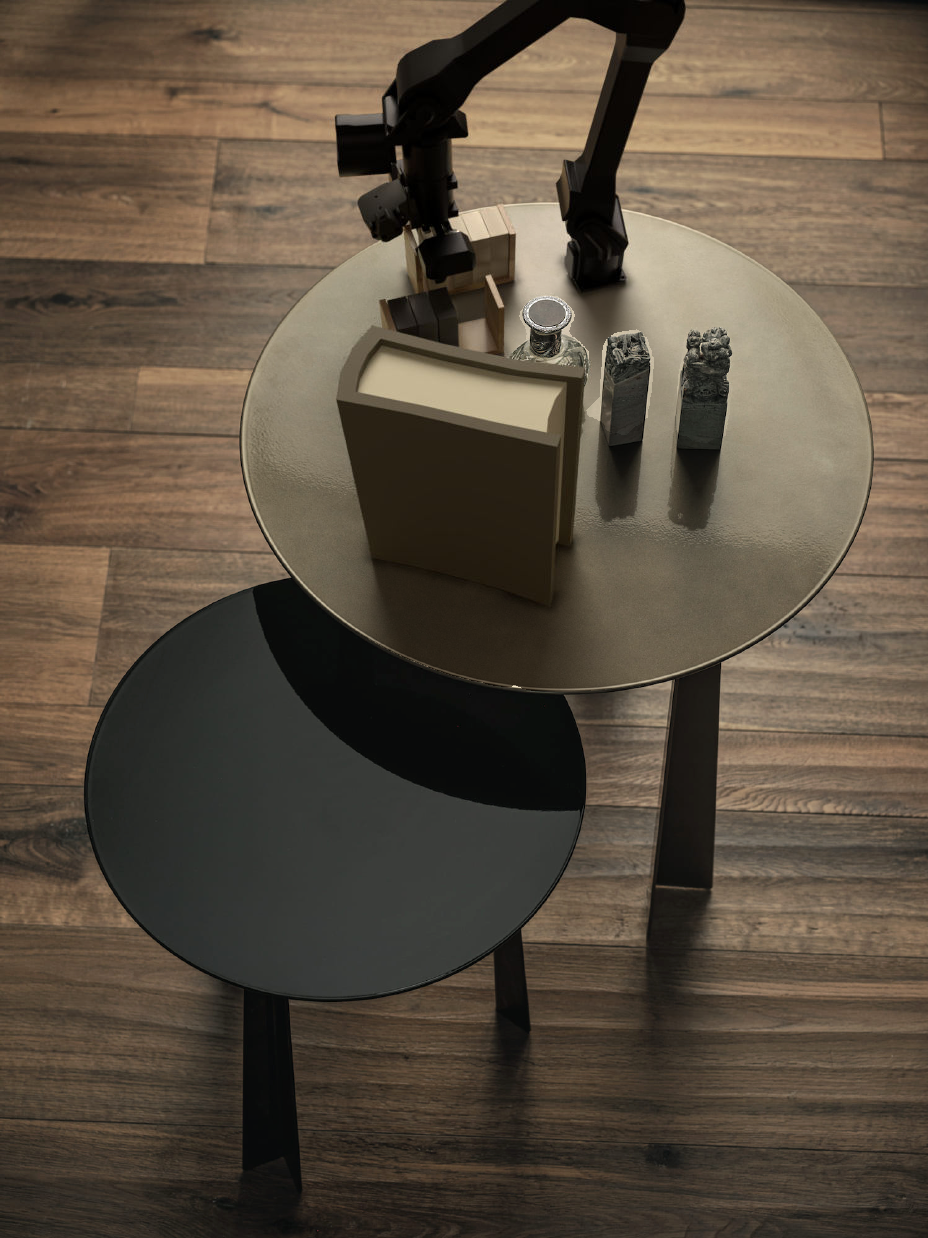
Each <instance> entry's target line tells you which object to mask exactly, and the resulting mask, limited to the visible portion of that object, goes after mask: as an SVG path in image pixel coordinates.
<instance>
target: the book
mask: <svg viewBox="0 0 928 1238" xmlns="http://www.w3.org/2000/svg"><path fill="white" fill-rule="evenodd" d="M586 369H587V367H586V366H578V365H577V366H576V365H568V364H558V363H550V362H540V361H530V360H524V359H523V360H520V359H516V358H515V359H514V358H510V357H505V356H500V355H498V354H495V355H492V354H488V353H483V352H479V351H474V350H469V349H465V348H460V347H456V346H451V345H447V344H442V343H438V342H434V341H431V340H427V339H423V338H419V337H415V336H411V335H407V334H404V333H400V332H396V331H392V330H388V329H384V328H382V326H381V327H380V326H377V325H371V326H370V327H369V328H368V329H367V331H365V332H364V334H363V335H362V336H361V338H360V339H359V340H358V341H357V342H356V343H355V344H354V345H353V346H352V348H351V349H350V352H349V354H348V356H347V358H346V360H345V361H344V364H343V367H342V368H341V370H340V373H339V379H338V385H337V391H336V396H335V397H336V398H335V402H336V405H337V409H338V414H339V419H340V423H341V427H342V432H343V436H344V441H345V445H346V450H347V454H348V459H349V463H350V469H351V472H352V476H353V480H354V485H355V490H356V493H357V499H358V503H359V508H360V512H361V517H362V521H363V526H364V530H365V534H366V538H367V543H368V548H369V552H370V556H371V558H373V559H377V560H383V561H387V562H391V563H396V564H401V565H405V566H410V567H415V568H419V569H425V570H429V571H433V572H437V573H441V574H444V575H449V576H452V577H456V578H459V579H463V580H466V581H472V582H474V583H475V582H476V583H480V584H483V585H486V586H491V587H494V588H497V589H499V590H503V591H506V592H508V593H511V594H514V595H516V596H519V597H521V598H525V599H527V600H530V601H533V602H536V603H538V604H540V605H544V606H546V607H551V605H552V601H553V598H554V588H555V587H554V585H555V564H556V546H557V544H558V545H561V546H565V547H568V548H571V545H572V542H573V539H574V528H575V515H576V502H577V489H578V475H579V464H580V463H579V461H580V449H581V448H580V447H581V437H582V436H581V434H582V421H583V410H584V409H583V408H584V407H583V406H584V397H585V384H586V383H585V380H586Z"/></svg>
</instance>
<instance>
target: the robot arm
mask: <svg viewBox="0 0 928 1238" xmlns="http://www.w3.org/2000/svg"><path fill="white" fill-rule="evenodd" d="M686 11H687V7H686V1H685V0H504V1H503V2H502V3H501V4H500V5H498V6H497V7H495V8H493V9H492V10H491V11H490V12H488V13H487V14H486V15H484V16H483V17H482V18H480V19H478V20H477V21H476V22H474V23H473V24H472V25H470V26H469V27H467V28H466V29H465V30H463V31H462V32H460V33H458V34H456V35H454V36H452V37H446V38H439V39H438V38H437V39H432V40H430V41H428V42H426V43H424V44H422V45H420V46H418V47H416V48H414V49H412V50H410V51H408V52H407V53H405V54H404V55H403V56H402V58H400V59H399V61H398V63H397V66H396V70H395V71H396V72H395V78H394V79H393V80H392V82H391V83H390V85H389V86H388V88H387V89H386V91H385V92H384V93H383V95H382V96H381V109H382V112H377V113H363V114H350V113H341V114H335V115H334V129H335V143H336V145H335V146H336V162H337V165H336V166H337V171H338V176H339V178H353V177H363V176H364V177H365V176H379V175H388V181H387V182H384V183H381V184H380V185H378V186H376V187H374V188H373V189H371V190H369V191H366V192H365V193H364V194H362V195H360V196H359V197H358V199H357V204H356V205H357V207H358V209H359V212H360V215H361V218H362V221H363V222H364V224H365V226H366V227H367V229H368V231H369V233H370V235H371V238H372V239H373V240H376V241H381V242H382V243H389V242H390V241H391V242H392V240H394V239H397V238H398V237H400V236H402V235H403V234H404V228H403V227H404V226H405V225H408V224H409V225H410V228H411V230H412V231H413V230H415V231H416V234H417V235H418V228H421V230H422V232H423V234H429V233H431V230H432V233H433V235H434V236H432V237H431V238H427V239H424V240H423V242H422V243H421V244H420V245H419V244H418V245H417V246H418V248H415V251H416V253H417V256H418V258H419V261H420V263H421V266H422V269H423V271H424V274H425V276H426V278H428V279H430V280H435V283H436V284H440V283H444V281H445V280H446V278H447V277H448V276H452V275H456V274H461V273H465V272H469V271H473V270H474V268H475V267H476V254H475V252H474V249H473V247H472V244H471V242H470V240H469V237H468V235H466V234H464V233H463V232H461V231H458V230H457V229H452V227H451V224H450V222H449V219H450V218H454V217H459V215H460V214H459V213H460V211H459V208H458V205H457V203H456V201H455V198H454V197H455V196H454V195H455V194H454V190H456V189H458V186H459V185H458V184H459V183H458V182H459V181H458V179H457V176H456V174H455V171H454V169H453V168H454V166H453V140H454V139H455V140H456V139H467V138H468V137H469V127H468V119H467V114H466V113H465V112H464V111H462V110H460V109H461V108H463V106H464V105H465V103H466V102H467V100H468V98H469V97H470V95H471V93H472V91H473V90H474V88H475V87H476V86H477V85H478V84H480V82H481V81H482V80H483V79H484V78H486V77H487V76H489V75H490V74H491V73H493V72H494V71H496V70H497V69H499V68H501V66H503V65H504V64H506V63H507V62H509V61H510V60H512V59H513V58H515V57H516V56H517V55H519V54H520V53H522V52H523V51H525V50H526V49H528V48H529V47H530V46H532V45H533V44H535V43H536V42H538V41H539V40H540V39H542V38H543V37H545V36H546V35H548V34H549V33H550V32H552V31H554V30H555V29H556V28H558V27H559V26H561V25H562V24H564V23H565V22H566V21H568V20H569V19H580V20H587V21H589V22H591V23H593V24H595V25H598V26H601V27H602V28H605V29H606V30H609V31H611V32H613V33H615V40H614V41H615V42H614V46H613V49H612V53H611V56H610V59H609V64H608V66H607V70H606V73H605V76H604V79H603V83H602V87H601V90H600V94H599V97H598V101H597V103H596V108H595V110H594V114H593V117H592V121H591V124H590V127H589V130H588V131H589V132H588V134H587V138H586V141H585V145H584V148H583V150H582V153H581V155H580V156H578V157H577V158H576V159H575V160H574V161H573V160H568V159H563V160H562V166H561V173H560V176H559V178H558V180H557V181H556V182H555V189H556V194H557V200H558V205H559V212H560V217H561V222H563V223H564V225H565V230H566V234H567V235H568V236H569V237H570V241H567V243H566V251H565V256H564V258H563V259H564V262H565V268H566V270H567V273H568V276H569V277H570V279H571V280H573V281H574V284H575V286H576V288H577V290H578V291H579V292H580V293H584V292H589V291H594V290H597V289H602V288H607V287H610V286H615V285H618V284H623V283H626V281H627V275H626V273H625V270H624V269H623V265H624V257H625V252H626V250H627V248H628V246H629V243H630V242H629V238H628V233H627V229H626V223H625V220H624V214H623V211H622V210H623V209H622V205H621V200H620V196H619V194H618V193H617V174H618V170H619V167H620V164H621V161H622V158H623V155H624V153H625V152H624V151H625V149H626V147H627V142H628V140H629V137H630V134H631V131H632V128H633V124H634V121H635V119H636V115H637V113H638V110H639V107H640V104H641V100H642V98H643V95H644V91H645V89H646V85H647V82H648V80H649V77H650V73H651V70H652V68H653V66H654V64H655V62H656V61H657V60H659V58H661V56H662V55H663V54H664V53H666V52H667V51H668V50H669V48H670V47H671V45H672V43H673V42H674V39H675V38H676V35H677V33H678V32H679V29H680V28H681V26H682V24H683V22H684V20H685V16H686ZM396 147H401V157H402V158H401V159H397V149H396ZM430 228H431V230H430ZM443 229H444V230H443ZM445 233H447V234H445Z"/></svg>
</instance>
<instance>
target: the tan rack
mask: <svg viewBox="0 0 928 1238" xmlns="http://www.w3.org/2000/svg"><path fill="white" fill-rule="evenodd" d="M427 293H428V294H427ZM378 304H379V312H380V322H381V328H384V329H388V330H392V331H396V332H400V333H404V334H407V335H411V336H415V337H419V338H423V339H427V340H431V341H434V342H438V343H442V344H447V345H451V346H456V347H460V348H465V349H469V350H474V351H479V352H483V353H488V354H492V355H498V354H502V353H504V352H505V319H506V318H505V317H506V316H505V314H506V313H505V312H506V311H505V310H506V307H505V304H504V301H503V299H502V297H501V295H500V293H499V291H498V288H497V285H495V283H494V280H493V278H492V276H491V275H487V276H485V287H484V317H482V318H478V319H474V320H469V321H464V322H460V323H459V315H458V313H457V310H456V308H455V307H456V306H455V305H454V302H453V300H452V297H451V295H449V292H448V290H447V287H443V288H438V289H434V290H430V291H427V292H426V291H425V292H421V293H417V294H415V293H412V294H409V295H403V296H400V297H394V298H390V299H386V298H382V299H379V300H378Z"/></svg>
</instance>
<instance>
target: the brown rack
mask: <svg viewBox="0 0 928 1238" xmlns="http://www.w3.org/2000/svg"><path fill="white" fill-rule="evenodd" d="M449 222H450V224H451V227H452V229H457V230H458V231H461V232H463V233H464V234H466V235H468V237H469V240H470V242H471V244H472V247H473V249H474V252H475V254H476V267H475V268H474V270H473V271H469V272H465V273H461V274H456V275H452V276H448V292H449V295H450V296H454V295H457V294H462V293H466V292H470V291H471V292H472V291H475V290H479V289H483V288H484V289H485V276H487V275H491V276H492V278H493V280H494V283H495V285H496V286H497V285H501V284H505V283H508V282H513V281H515V280H516V279H515V278H516V251H517V250H516V249H517V248H516V247H517V244H516V243H517V232H516V230H515V228H514V225H513V224H512V221H511V219H510V217H509V214H508V212H507V210H506V208H505V205H504V203H499V204H496V206H493V207H489V208H483V209H479V210H474V211H471V212H465V213H461V214H459V217H454V218H450V219H449ZM403 230H404V231H403V237H404V251H405V263H406V273H407V276H408V278H409V281H410V284H411V286H412V289H413V292H414V294H417V293H421V292H425V291H426V292H427V291H429V288H428V286H427V283H426V281H425V278H424V275H423V273H422V266H421V263H420V261H419V258H418V256H417V253H416V251H415V248H418V246H419V245H418V242H417V240H416V238H415V235H414V233H413V230H411V228H410V225H409V223H407V224H406V225H405V226H404V227H403ZM443 230H444V229H443ZM445 234H447V233H445ZM427 294H428V293H427Z"/></svg>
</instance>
